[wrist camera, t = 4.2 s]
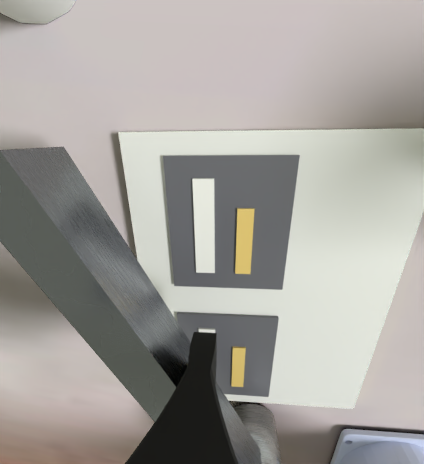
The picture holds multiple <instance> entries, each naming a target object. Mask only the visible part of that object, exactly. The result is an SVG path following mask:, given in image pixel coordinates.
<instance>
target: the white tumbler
mask: <svg viewBox="0 0 424 464" xmlns="http://www.w3.org/2000/svg"><path fill="white" fill-rule="evenodd" d="M75 1H76V0H0V13H2V14H4V15H6V16H8V17H10V18H12V19H14V20H16V21H18V22H20V23H37V24H47V23H49V22H51V21H53V20H55V19H56V18H58V17H60V16H62V15H64V14H65V13H67V12H69V11H70V9H71V8H72V6H73V5H74V3H75Z"/></svg>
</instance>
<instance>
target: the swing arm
mask: <svg viewBox="0 0 424 464" xmlns="http://www.w3.org/2000/svg"><path fill="white" fill-rule="evenodd" d="M0 242H1V243H2V244H3V245H4V246H5V247H6V249H7V250H8V251H9V252H10V253H11V254H12V256H13V257H14V258H15V259H16V260H17V261H18V263H19V264H20V265H21V266H22V267H23V268H24V270H25V271H26V272H27V273H28V274H29V275H30V277H31V278H32V279H33V280H34V281H35V282H36V284H37V285H38V286H39V287H40V288H41V290H42V291H43V292H44V293H45V294H46V295H47V297H48V298H49V299H50V300H51V301H52V302H53V304H54V305H55V306H56V307H57V308H58V309H59V311H60V312H61V313H62V314H63V315H64V316H65V318H66V319H67V320H68V321H69V322H70V323H71V325H72V326H73V327H74V328H75V329H76V330H77V332H78V333H79V334H80V335H81V336H82V337H83V339H84V340H85V341H86V342H87V343H88V344H89V346H90V347H91V348H92V349H93V350H94V351H95V353H96V354H97V355H98V356H99V357H100V358H101V360H102V361H103V362H104V363H105V364H106V365H107V367H108V368H109V369H110V370H111V371H112V372H113V374H114V375H115V376H116V377H117V378H118V379H119V381H120V382H121V383H122V384H123V385H124V386H125V388H126V389H127V390H128V391H129V392H130V393H131V395H132V396H133V397H134V398H135V399H136V400H137V402H138V403H139V404H140V405H141V406H142V407H143V409H144V410H145V411H146V412H147V413H148V414H149V416H150V417H151V418H152V419H153V420H154V422H155V421H156V420H157V418H158V417H159V415H160V414H161V412H162V411H163V409H164V407H165V406H166V404H167V403H168V401H169V399H170V398H171V396H172V394H173V392H174V391H175V389H176V387H177V385H178V384H179V382H180V380H181V378H182V376H183V374H184V372H185V370H186V368H187V366H188V358H189V350H190V344H191V342H190V341H189V339H188V338H187V336H186V334H185V333H184V331H183V330H182V328H181V327H180V325H179V324H178V322H177V321H176V319H175V318H174V316H173V314H172V313H171V311H170V310H169V308H168V307H167V305H166V304H165V302H164V301H163V299H162V298H161V296H160V294H159V293H158V291H157V290H156V288H155V287H154V285H153V284H152V282H151V281H150V279H149V278H148V276H147V274H146V273H145V271H144V270H143V268H142V267H141V265H140V264H139V262H138V261H137V259H136V258H135V256H134V254H133V253H132V251H131V250H130V248H129V247H128V245H127V244H126V242H125V241H124V239H123V238H122V236H121V234H120V233H119V231H118V230H117V228H116V227H115V225H114V224H113V222H112V221H111V219H110V218H109V216H108V214H107V213H106V211H105V210H104V208H103V207H102V205H101V204H100V202H99V201H98V199H97V198H96V196H95V194H94V193H93V191H92V190H91V188H90V187H89V185H88V184H87V182H86V181H85V179H84V177H83V176H82V174H81V173H80V171H79V170H78V168H77V167H76V165H75V164H74V162H73V161H72V159H71V157H70V156H69V154H68V153H67V151H66V150H65V148H64V147H51V148H33V149H14V150H0ZM216 391H217V395H218V399H219V403H220V407H221V411H222V414H223V418H224V421H225V425H226V428H227V431H228V434H229V437H230V441H231V444H232V447H233V450H234V453H235V456H236V458H237V461H238V464H282V463H281V457H280V451H279V444H278V438H277V432H276V426H275V419H274V415H273V414H272V412H271V411H270V410H269V409H267V408H265V407H263V406H260V405H256V404H243V405H239V406H236V407H234V408H233V407H232V405H231V404H230V402H229V401H228V399H227V398H226V396H225V395H224V393H223V391H222V390H221V388H220V387H219V385H218V384H217V382H216Z"/></svg>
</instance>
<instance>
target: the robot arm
mask: <svg viewBox="0 0 424 464" xmlns="http://www.w3.org/2000/svg"><path fill="white" fill-rule="evenodd" d="M216 367H217V333H207V332H194V333H193V337H192V340H191V344H190V350H189V358H188V366H187V368H186V370H185V372H184V374H183V376H182V378H181V380H180V382H179V384H178V385H177V387H176V389H175V391H174V392H173V394H172V396H171V398H170V399H169V401H168V403H167V404H166V406H165V407H164V409H163V411H162V412H161V414H160V415H159V417H158V418H157V420H156V421H155V423H154V424H153V426H152V427H151V429H150V430H149V432H148V433H147V434H146V436H145V437H144V439H143V440H142V441H141V443H140V444H139V446H138V447H137V448H136V450H135V451H134V452H133V454H132V455H131V456H130V458H129V459H128V460H127V462H126V463H125V464H238V461H237V458H236V456H235V453H234V450H233V447H232V444H231V441H230V437H229V434H228V431H227V428H226V425H225V421H224V418H223V414H222V411H221V407H220V403H219V399H218V395H217V391H216ZM330 464H424V434H412V433H398V432H384V431H371V430H357V429H344V430H343V431H342V432H341V434H340V437H339V440H338V443H337V446H336V449H335V452H334V455H333V458H332V461H331V463H330Z"/></svg>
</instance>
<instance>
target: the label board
mask: <svg viewBox="0 0 424 464" xmlns="http://www.w3.org/2000/svg"><path fill="white" fill-rule="evenodd" d="M118 135H119V141H120V148H121V154H122V161H123V168H124V174H125V181H126V187H127V194H128V201H129V207H130V214H131V220H132V227H133V234H134V240H135V247H136V253H137V260H138V262H139V264H140V265H141V267H142V268H143V270H144V271H145V273H146V274H147V276H148V278H149V279H150V281H151V282H152V284H153V285H154V287H155V288H156V290H157V291H158V293H159V294H160V296H161V298H162V299H163V301H164V302H165V304H166V305H167V307H168V308H169V310H170V311H171V313H172V314H173V316H174V318H175V319H176V321H177V322H178V324H179V325H180V327H181V328H182V330H183V331H184V333H185V334H186V336H187V338H188V339H189V341H190V342H191V340H192V337H193V333H194V332H207V333H217V367H216V382H217V384H218V385H219V387H220V388H221V390H222V391H223V393H224V395H225V396H226V398H227V399H228V401H243V402H257V403H272V404H287V405H302V406H316V407H331V408H346V409H354V406H355V403H356V401H357V398H358V395H359V392H360V389H361V387H362V384H363V381H364V378H365V375H366V373H367V370H368V367H369V364H370V361H371V358H372V356H373V353H374V350H375V347H376V344H377V342H378V339H379V336H380V333H381V330H382V328H383V325H384V322H385V319H386V316H387V314H388V311H389V308H390V305H391V302H392V299H393V297H394V294H395V291H396V288H397V285H398V283H399V280H400V277H401V274H402V271H403V269H404V266H405V263H406V260H407V257H408V255H409V252H410V249H411V246H412V243H413V240H414V238H415V235H416V232H417V229H418V226H419V224H420V221H421V218H422V215H423V212H424V128H411V129H331V130H251V131H171V132H118Z"/></svg>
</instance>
